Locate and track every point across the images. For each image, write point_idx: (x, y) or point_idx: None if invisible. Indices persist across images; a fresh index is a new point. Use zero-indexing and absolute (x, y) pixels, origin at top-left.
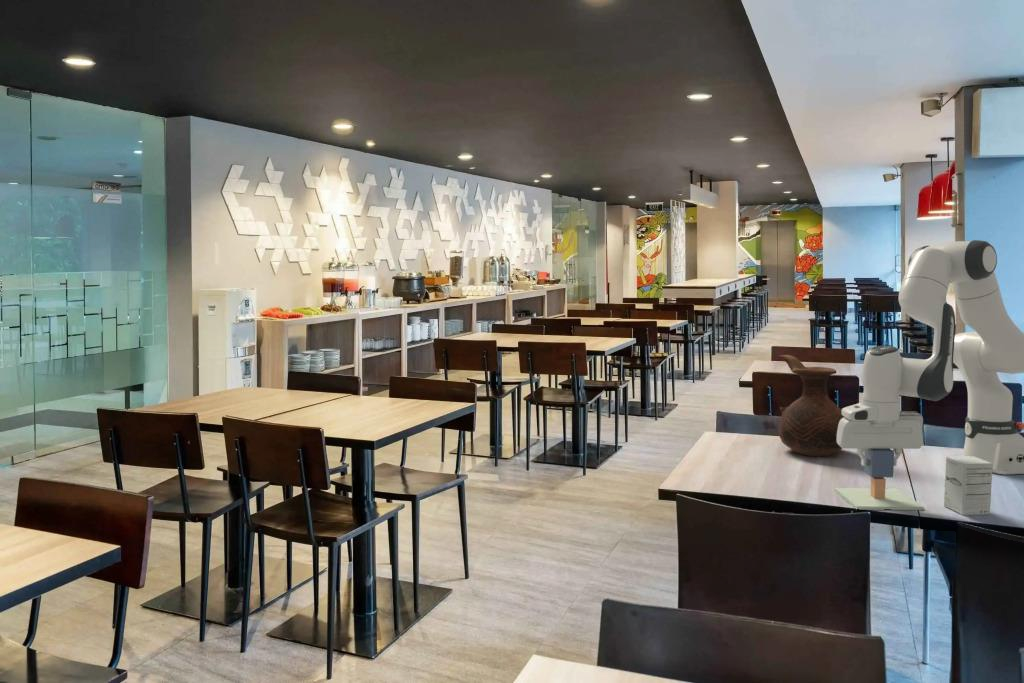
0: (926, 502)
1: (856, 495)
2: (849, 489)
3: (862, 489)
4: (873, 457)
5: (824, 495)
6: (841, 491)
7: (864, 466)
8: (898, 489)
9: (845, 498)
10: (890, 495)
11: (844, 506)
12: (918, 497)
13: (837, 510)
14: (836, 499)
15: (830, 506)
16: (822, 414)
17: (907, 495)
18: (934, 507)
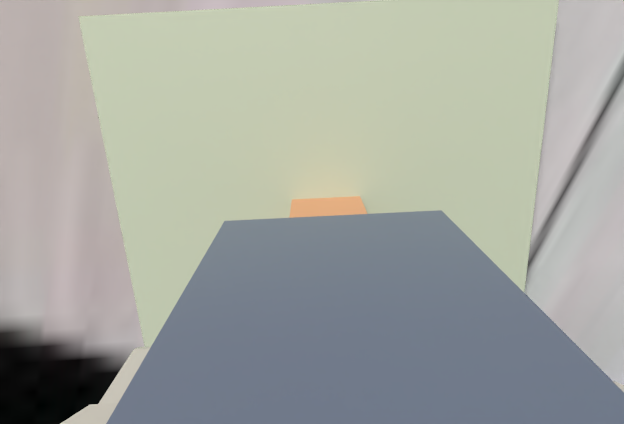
0: (598, 245)
1: (200, 205)
2: (184, 53)
3: (282, 45)
4: None
5: (12, 139)
6: (117, 113)
7: (213, 248)
8: (553, 26)
9: (127, 241)
10: (424, 189)
11: (109, 346)
12: (612, 143)
13: (64, 407)
14: (81, 222)
15: (34, 350)
16: None
17: (536, 182)
18: (586, 330)
